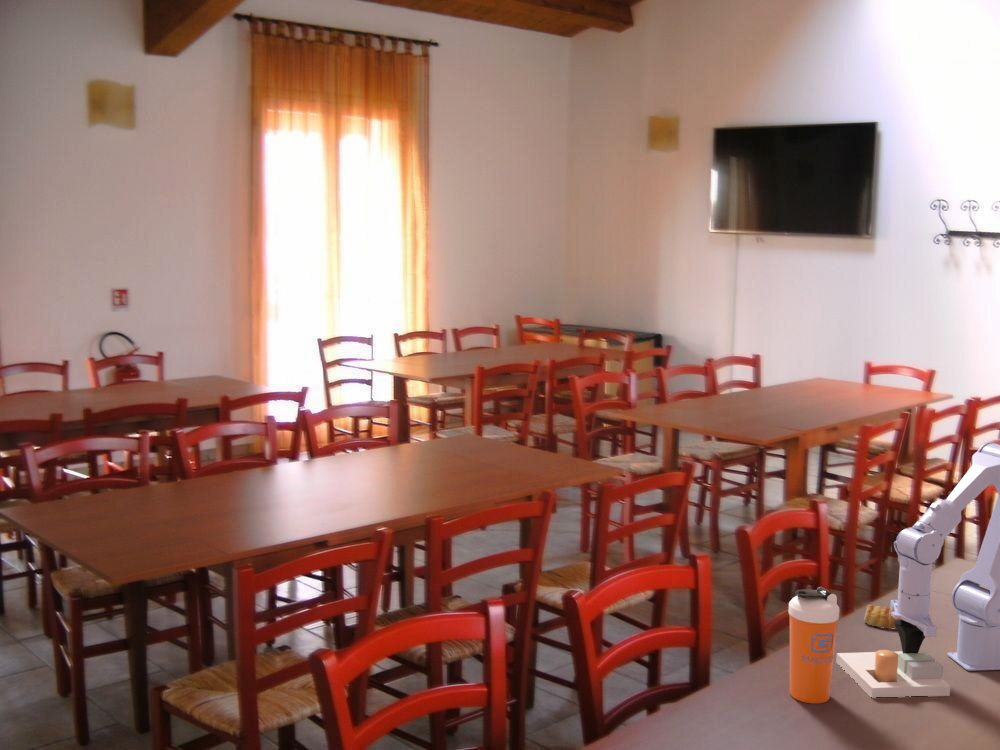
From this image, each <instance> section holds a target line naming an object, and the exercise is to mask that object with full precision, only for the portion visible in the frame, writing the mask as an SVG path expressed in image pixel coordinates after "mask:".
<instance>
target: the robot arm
mask: <svg viewBox="0 0 1000 750" xmlns="http://www.w3.org/2000/svg"><path fill="white" fill-rule="evenodd" d="M989 486H994V489H996V491H997V498H996V501H995V504H994V508H993V510H992V513H991V516H990V519H989V522H988V525H987V528H986V531H985V535H984V537H983V540H982V543H981V547H980V549H979V553H978V555H977V558H976V562H975V565H974V567H973V568H972V569H969V570H967V571H965V572H963V573H962V574H961V575H960V579H959V580H958V583H956V585H955V586H954V588H953V589H952V593H951V598H950V602H951V605H952V606H953V608H954V609H955V610H956V616H958V626H957V627H958V628H957V643H956V651H955V652H953V651H952V652H950V651H949V652H947V656H948V657H949V658H951V660H953V661H954V662H956V663H957V665H960V666H961V667H962V668H963V669H964V670H966V671H972V672H974V671H996V670H998V671H1000V444H998V443H996V442H993V441H988V442H984V443H983V444H981V445H980V446H979V448H978V449H977V451H976V452H975V453H973V455H972V456H971V466H970V467H969V468H968V469H967V472H966V473H965V474H964V475H963V477H962V478H961V479H960V481H959V482H957V485H956V486H954V488H953V490H952V491H950V493H949V495H948V496H947V497H946V498H945V499H937V500H936V501H934V502H932V503H931V505H929V508H928V509H927V510H926V511H925V512H924V513H923V514H922V516H920V518H919V519H918V520H917V521H916V522H915V523H914V524H913V525H912V527H907V528H904V529H903V530H901V531H900V532H899V533H898V534H897V536H896V538H895V541H894V542H893V547H894V550H895V552H896V554H897V562H898V564H899V573H898V576H899V577H898V589H897V593H898V594H897V599H890V608H889V609H891V610H892V611H895V612H891V616H893V617H894V618H896V619H901V620H895V621H894V625H895V627H896V629H897V630H896V631H897V633H898V636H899V640H900V645H901V651H903V654H907V653H920V649H921V646H922V644H923V641H924V640H925V638H929V637H930V638H936V636H937V626H936V625H935V624H934V621H933V619H932V617H931V615H930V604H931V602H930V601H931V587H932V572H933V562H935V561H936V560H937V559H938V558H939V557H940V555H941V551H942V547H943V546H944V542H945V540H946V538H947V537H948V536H949V535H950V534H951V533H952V532H953V530H954V529H955V528H956V527H957V526H958V525H959V524H960V523H961V522H962V511H963V510H964V509H965V508H966V507H967V506H968V505H969V504H970V503H972V502H973V501H974V500H975V499H976V498H977V497H978V496H979V495H981V493H982V492H983V491H985V489H987V488H988V487H989ZM982 586H983V587H982Z"/></svg>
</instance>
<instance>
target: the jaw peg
mask: <svg viewBox="0 0 1000 750" xmlns="http://www.w3.org/2000/svg"><path fill="white" fill-rule="evenodd" d="M875 652H876V656H875V673H874V679H875V680H876V681H877V682H878V683H880V682H897V668H898V654H897V653H895V651H892V650H889V649H878V650H876V651H875Z"/></svg>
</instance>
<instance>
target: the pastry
mask: <svg viewBox="0 0 1000 750" xmlns="http://www.w3.org/2000/svg"><path fill="white" fill-rule="evenodd" d="M891 612H895V611H892V610H891V609H890V608H889V607H887V606H886V607H883V606H880V605H877V606H875V605H872V604H868V605H867V606H866V611H865V612H864V613H865V614H864V618H863V622H864V623H865V624H866V623H867V624H866V625H868V626H870V625H872V626H871V627H877V628H879V627H884V628H885V629H886V628H895V629H896V627H895V625H894V621H895V620H901V619H896V618H894V617H893V616H891ZM884 628H883V629H884Z"/></svg>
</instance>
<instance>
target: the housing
mask: <svg viewBox="0 0 1000 750" xmlns="http://www.w3.org/2000/svg"><path fill="white" fill-rule="evenodd" d="M894 652H895V653H897V654H903V651H902V650H899V651H898V650H897V651H894ZM875 656H876V651H872V652H871V651H867V652H865V651H864V652H861V651H859V652H836V660H835V661H836V662H835V663H836V664H837V666H839V665H840V666H839V667H840V668H841V667H842V668H841V670H843V671H844V670H845V671H844V672H845V674H846V675H848V674H849V675H850V676H849V675H848V676H849V677H850V678H851V679H852V678H853V679H854V680H855V681H854V680H853V679H852V680H853V681H854V682H855V683H856V684H857V683H858V684H857V685H858V686H859V687H860V689H862V690H863V691H864V693H866V694H867V695H868V696H869V698H871V697H872V698H871V699H877V698H876V697H898V698H906V697H905V696H909V697H908V698H912V697H911V696H928V697H949V696H950V695H951V685H950V684H949V683H948V682H947V681H946V680H944V679H943V669H944V665H942V664H941V663H940V662H939V661H935V662H908V663H907V673H904V672H903V671H902V670H901V669H900V668H897V682H880V683H878V682H877V681H876V680H875V679H874V673H875Z"/></svg>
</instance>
